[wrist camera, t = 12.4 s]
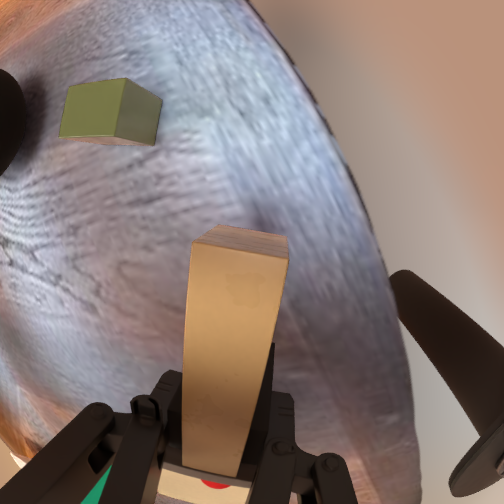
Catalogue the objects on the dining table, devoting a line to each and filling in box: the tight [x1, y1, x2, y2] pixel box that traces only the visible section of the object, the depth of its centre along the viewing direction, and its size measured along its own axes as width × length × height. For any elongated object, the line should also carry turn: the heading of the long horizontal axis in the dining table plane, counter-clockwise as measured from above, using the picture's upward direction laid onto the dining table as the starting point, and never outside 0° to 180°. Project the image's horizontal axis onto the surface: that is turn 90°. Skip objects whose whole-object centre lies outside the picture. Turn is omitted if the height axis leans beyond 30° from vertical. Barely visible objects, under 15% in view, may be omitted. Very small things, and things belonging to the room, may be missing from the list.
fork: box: [163, 224, 289, 488], centre depth 13 cm, size 19×5×8 cm, turn 171°
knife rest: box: [59, 78, 162, 146], centre depth 13 cm, size 4×3×4 cm
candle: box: [81, 465, 112, 504], centre depth 20 cm, size 6×6×12 cm
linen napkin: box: [158, 468, 250, 504], centre depth 23 cm, size 15×16×1 cm
